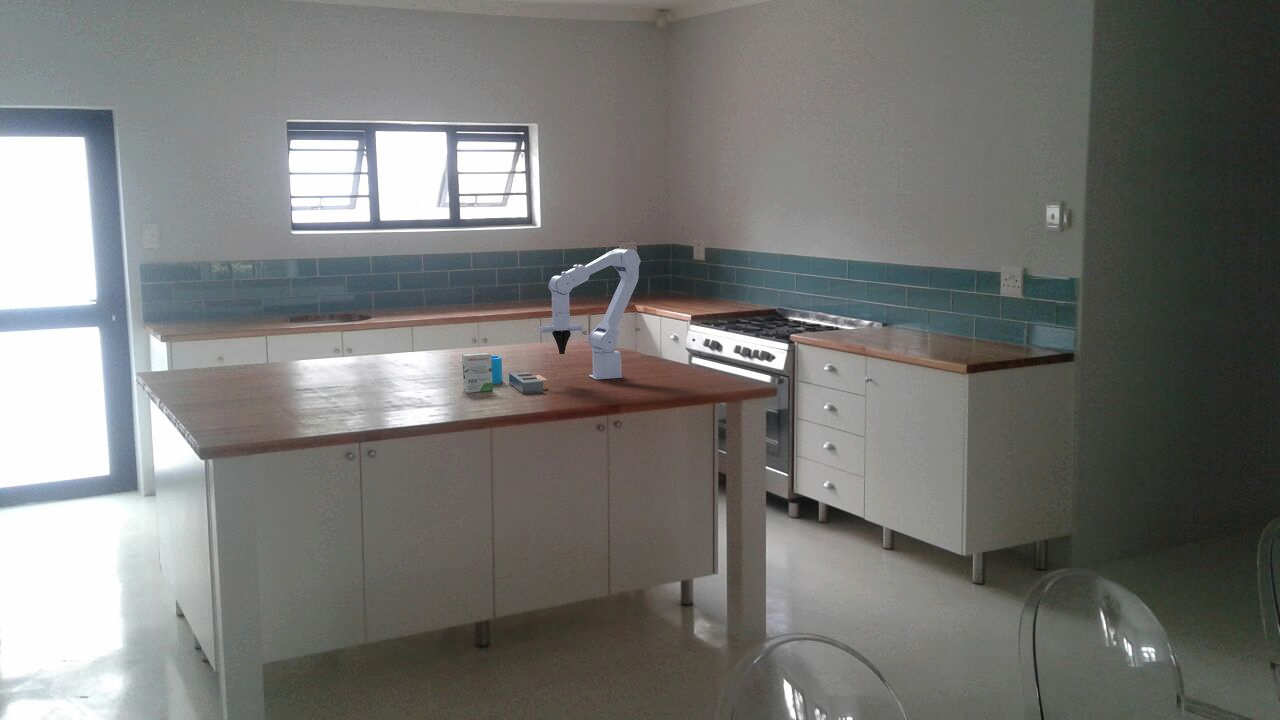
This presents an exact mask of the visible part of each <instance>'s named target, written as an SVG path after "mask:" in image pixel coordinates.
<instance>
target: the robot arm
mask: <svg viewBox="0 0 1280 720" xmlns="http://www.w3.org/2000/svg"><path fill="white" fill-rule="evenodd" d="M640 265H641V258H640V256H639V254H638V252H637V251H636V250H634V249H624V248H619V247H617V248H615V249H613V250H609V251H608V252H606V253H605V254H603V255H601V256H600V257H598V258H596V259H594V260H593V261H591V262H589V263H588V264H586V265H583V264H574V265H573V266H572V267H573V268H571V269H569V270H567V271H562V272H561V274H560V275H553V276H552V277H551V279H550V280H549V283H548V284H547V285H548V286H547V287H548V289H549V291H550V292H551V315H552V316H551V319H552V325H544V326H538V333H539V334H545V333H546V334H547V333H548V334H549V333H551V334H552V336H553V338H554V341H555V344H556V345H557V348H558V354H560V355H565V354H566V353H565V352H566V348H567V344H568V343H569V340H570V338H571V335H572V332H583V331H584V325H583V324H571V316H570V315H571V314H570V312H571V311H570V308H571V307H570V293H571V291H572V289H574V288H577V286H579V285H581V284H583V283H585V282H587V281H588V280H589V278H590V275H593V274H594V273H597V272H598V271H599V272H600V271H601V270H603V269H605V268H607V267H611V266H612V267H614V269H615V270H616V271H617V272H618V275H619V276H620V281H619V284H618V285H617V288H616V290H615V292H614V293H613V296H612V299H611V301H610V303H609V305H608V307H607V309H606V312H605V315H604V317H603V319H602V321H600V322H599V323H598V324H597V325H596V326H595V329H594V330H593V331H592V332H590V334H589V336H588V344H589V346H590V347H591V350H592V351H591V352H592V374H589V375H588V377H590V378H592V379H594V380H606V379H607V380H609V379H610V380H611V379H620V378H623V376H622V373H623V372H622V371H623V369H622V368H623V367H622V355H621V352H620V351H619V350H616V347H617V346H618V337H619V335H620V332H619V329H618V328H619V327H618V326H619V324H620V322H621V320H622V318H623V315H624V313H625V311H626V309H627V306H628V305H629V302H630V299H631V297H632V294H633V293H634V290H635V289H636V285H637V284H638V282H639V277H640V276H639V273H640V272H639V270H640V269H639V268H640V267H639V266H640Z"/></svg>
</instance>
